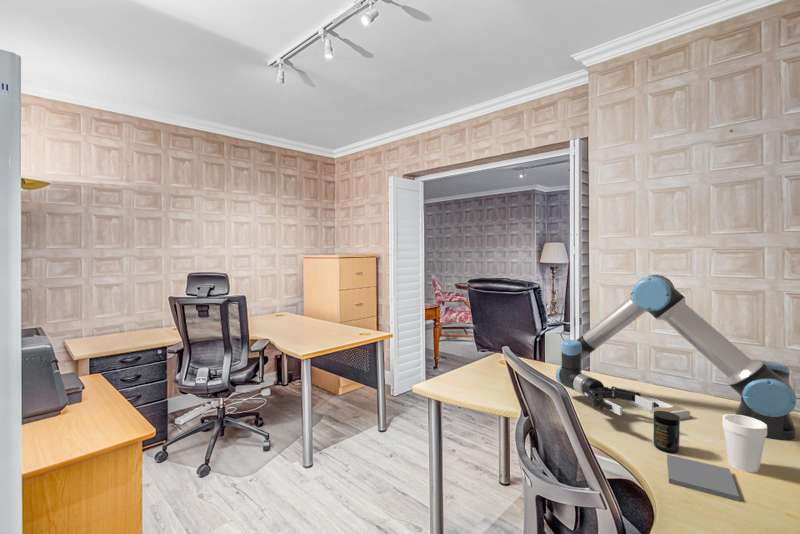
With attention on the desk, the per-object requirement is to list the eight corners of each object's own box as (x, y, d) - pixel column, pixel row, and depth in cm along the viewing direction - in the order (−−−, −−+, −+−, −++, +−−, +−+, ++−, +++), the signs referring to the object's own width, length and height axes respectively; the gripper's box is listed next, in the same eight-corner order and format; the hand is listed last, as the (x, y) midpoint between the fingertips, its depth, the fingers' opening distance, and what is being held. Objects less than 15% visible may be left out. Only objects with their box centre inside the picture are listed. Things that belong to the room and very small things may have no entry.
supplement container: (679, 456, 113) (679, 422, 112) (652, 449, 117) (652, 416, 116) (679, 446, 118) (680, 414, 118) (653, 440, 122) (654, 409, 122)
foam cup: (754, 479, 101) (755, 431, 100) (714, 462, 109) (715, 417, 109) (773, 470, 105) (774, 424, 104) (733, 454, 113) (733, 411, 113)
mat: (729, 473, 104) (729, 468, 104) (739, 501, 92) (739, 496, 92) (667, 458, 112) (667, 454, 112) (668, 482, 100) (668, 478, 100)
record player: (666, 413, 136) (622, 394, 155) (666, 422, 136) (622, 401, 156) (692, 410, 138) (645, 391, 158) (692, 418, 139) (645, 398, 158)
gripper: (614, 392, 151) (665, 414, 131) (562, 400, 144) (607, 424, 123) (614, 374, 151) (665, 393, 130) (562, 380, 143) (607, 402, 123)
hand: (637, 408), depth 127 cm, fingers open, 13 cm apart
